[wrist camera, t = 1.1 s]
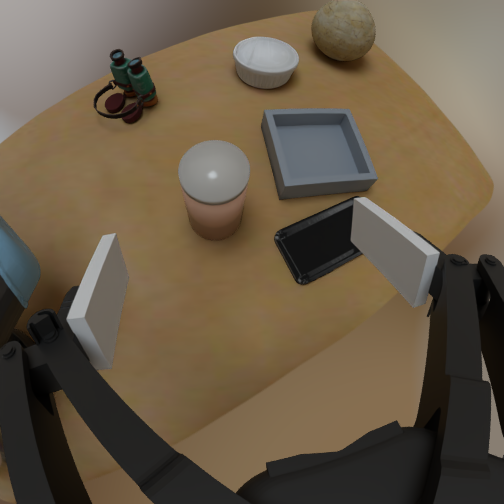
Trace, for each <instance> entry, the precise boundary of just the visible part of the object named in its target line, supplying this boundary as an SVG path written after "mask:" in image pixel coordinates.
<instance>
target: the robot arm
mask: <svg viewBox="0 0 504 504" xmlns="http://www.w3.org/2000/svg"><path fill="white" fill-rule="evenodd" d="M351 242H352V243H353V244H354V245H355V246H356V247H357V248H358V249H359V250H360V251H361V252H362V253H363V254H364V255H365V256H366V257H367V258H368V259H369V260H370V261H371V262H372V263H373V264H374V266H375V267H376V268H377V269H378V270H379V271H380V272H381V273H382V274H383V275H384V276H385V277H386V278H387V279H388V280H389V282H390V283H391V284H392V285H393V286H394V287H395V288H396V289H397V290H398V291H399V292H400V294H401V295H402V296H403V297H404V298H405V299H406V300H407V301H408V302H409V304H410V305H411V306H412V307H413V308H414V307H417V306H420V305H423V304H425V303H426V300H427V296H428V293H429V294H430V295H432V297H433V300H432V303H431V306H430V309H429V312H428V314H427V317H429V315H430V329H429V340H428V350H427V358H426V367H425V373H424V380H423V387H422V393H421V398H420V404H419V409H418V414H417V418H416V422H415V425H414V427H400V425H399V423H398V421H394V422H392V423H390V424H387V425H385V426H382V427H380V428H378V429H375V430H373V431H370V432H368V433H367V434H365V435H364V436H362V437H361V438H359V439H358V440H356V441H355V442H353V443H352V444H350V445H349V446H347V447H346V448H344V449H343V450H340V451H338V452H327V453H314V454H300V455H296V456H292V457H288V458H284V459H280V460H276V461H271V462H267V463H266V468H267V470H266V471H264V472H262V473H260V474H258V475H256V476H254V477H253V478H251V479H250V480H249V481H247V482H246V483H245V484H244V485H243V486H242V487H241V488H240V489H239V490H238V491H237V492H236V493H234V492H233V491H231V490H230V489H229V488H227V487H226V486H224V485H223V484H221V483H220V482H219V481H217V480H216V479H214V478H213V477H212V476H211V475H209V474H208V473H206V472H205V471H204V470H202V469H201V468H200V467H199V466H198V465H196V464H195V463H194V462H192V461H191V460H190V459H188V458H187V457H186V456H184V455H183V454H180V453H178V452H176V451H175V450H174V449H173V448H172V447H171V446H169V445H168V444H167V443H166V442H165V441H164V440H163V439H162V438H161V437H159V436H158V435H157V434H156V433H155V432H154V431H153V430H152V429H151V428H150V427H149V426H148V425H147V424H146V423H145V422H144V421H143V420H142V419H141V418H140V417H139V416H138V415H137V414H136V413H135V412H134V411H133V410H132V409H131V408H130V407H129V406H128V405H127V404H126V403H125V402H124V401H123V400H122V399H121V398H120V397H119V396H118V395H117V393H116V392H115V391H114V390H113V389H112V388H111V387H110V386H109V385H108V383H107V382H106V381H105V380H104V379H103V378H102V377H101V375H100V374H99V373H98V372H97V371H96V370H101V369H112V363H113V357H114V350H115V344H116V339H117V333H118V328H119V322H120V317H121V312H122V307H123V303H124V298H125V293H126V289H127V284H128V280H129V275H128V272H127V269H126V266H125V262H124V259H123V256H122V252H121V249H120V246H119V242H118V239H117V235H116V233H114V234H109V235H103V236H102V238H101V240H100V242H99V244H98V247H97V249H96V251H95V253H94V255H93V257H92V259H91V261H90V264H89V266H88V268H87V270H86V272H85V275H84V277H83V279H82V282H81V284H80V286H74V287H72V288H71V289H70V290H69V291H68V292H67V294H66V296H65V298H64V300H63V303H62V305H61V307H60V308H61V309H59V312H58V314H57V315H56V313H55V311H53V310H52V309H44V310H41V311H39V312H36V313H35V314H34V315H33V316H32V317H31V318H30V319H29V320H28V323H27V330H28V331H29V333H30V335H31V336H32V338H33V340H34V341H35V343H36V345H35V343H34V342H33V341H32V340H31V339H30V338H29V337H28V336H27V335H25V334H24V333H23V332H21V331H19V330H17V329H14V328H15V326H16V324H17V322H18V320H19V318H20V316H21V314H22V312H23V311H24V309H26V308H27V307H28V300H29V299H30V297H31V295H32V293H33V291H34V289H35V287H36V285H37V283H38V281H39V278H40V265H39V263H38V260H37V259H36V257H35V256H34V254H33V253H32V252H31V250H30V249H29V248H28V247H27V245H26V244H25V243H24V242H23V241H22V240H21V239H20V237H19V236H18V235H17V234H16V233H15V232H14V230H13V229H12V228H11V227H10V226H9V225H8V224H7V223H6V221H5V220H4V219H3V218H2V217H1V216H0V427H1V433H2V439H3V446H4V452H5V457H6V462H7V467H8V472H9V476H10V480H11V484H12V488H13V492H14V496H15V499H16V502H17V504H92V502H91V500H90V498H89V496H88V493H87V491H86V489H85V487H84V485H83V482H82V480H81V477H80V475H79V472H78V470H77V467H76V465H75V462H74V460H73V457H72V454H71V451H70V449H69V446H68V443H67V440H66V437H65V434H64V431H63V428H62V424H61V421H60V418H59V414H58V410H57V407H56V403H55V399H54V395H53V392H56V391H59V390H62V389H63V391H64V392H65V394H66V395H67V397H68V398H69V400H70V401H71V403H72V404H73V406H74V407H75V409H76V410H77V412H78V413H79V415H80V416H81V417H82V419H83V420H84V422H85V423H86V424H87V426H88V427H89V428H90V430H91V431H92V432H93V434H94V435H95V436H96V437H97V439H98V440H99V441H100V442H101V444H102V445H103V446H104V447H105V449H106V450H107V451H108V452H109V453H110V455H111V456H112V457H113V458H114V459H115V461H116V462H117V463H118V464H119V465H120V466H121V467H122V468H123V470H124V471H125V472H126V473H127V474H128V475H129V476H130V477H131V478H132V479H133V480H134V481H135V482H136V484H137V485H138V486H139V487H140V489H141V491H142V492H143V493H144V494H145V495H146V496H147V497H148V498H149V499H150V500H151V501H152V502H153V503H154V504H504V455H503V458H500V457H497V456H494V455H492V454H489V453H488V450H489V439H490V421H491V386H492V390H493V394H494V398H495V403H496V407H497V412H498V417H499V422H500V426H501V430H502V434H503V437H504V267H503V265H502V263H501V262H500V261H499V260H498V259H496V258H495V257H494V256H492V255H487V254H484V255H481V256H480V258H479V261H478V264H469V262H468V261H467V260H466V259H465V258H464V257H462V256H459V255H456V254H449V255H446V254H445V253H444V252H442V251H441V250H440V249H439V248H437V247H436V246H435V245H433V244H432V243H431V242H430V241H428V240H427V239H426V238H424V237H423V236H422V235H421V234H418V233H416V232H414V231H412V230H410V229H409V228H408V227H406V226H405V225H404V224H402V223H401V222H400V221H398V220H397V219H395V218H394V217H393V216H391V215H390V214H389V213H387V212H386V211H384V210H383V209H382V208H380V207H379V206H377V205H376V204H374V203H373V202H372V201H370V200H369V199H367V198H366V197H361V198H354V205H353V219H352V231H351ZM489 299H490V301H489ZM481 351H482V354H483V358H484V361H485V364H486V368H487V371H488V375H489V378H490V382H491V386H490V383H489V382H488V381H483V380H482V357H481ZM89 361H90V362H91V363H90V362H89ZM91 364H92V365H91Z"/></svg>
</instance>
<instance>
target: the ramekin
mask: <svg viewBox="0 0 504 504" xmlns="http://www.w3.org/2000/svg"><path fill="white" fill-rule="evenodd" d="M233 57H234V60H235V64H236V70H237V74H238V75H239V77H240V78H241V79H242V80H243V81H244V82H245V83H247V84H248V85H251V86H253V87H257V88H262V89H271V88H276V87H279V86H281V85H283V84H285V83H286V82H287V81H288V80H289V78H290V76H291V75H292V73H293V71H294V70H295V69H296V67H297V65H298V62H299V56H298V54H297V52H296V50H295V49H294V48H292V47H291V46H290V45H288V44H287V43H285V42H283V41H280V40H277V39H274V38H268V37H253V38H248V39H245V40H243V41H241V42H239V43H238V44H237V45H236V46H235V48H234V51H233Z"/></svg>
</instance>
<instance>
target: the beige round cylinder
mask: <svg viewBox="0 0 504 504" xmlns="http://www.w3.org/2000/svg"><path fill="white" fill-rule="evenodd" d="M178 174H179V179H180V184H181V188H182V192H183V196H184V200H185V205H186V209H187V213H188V217H189V221H190V224H191V226H192V228H193V230H194V231H195V232H196V233H197V234H198V235H199V236H201V237H203V238H205V239H208V240H222V239H225V238H227V237H229V236H231V235H232V234H233V233H234V232H235V231H236V230H237V229H238V227H239V225H240V223H241V218H242V213H243V207H244V202H245V196H246V191H247V186H248V180H249V175H250V165H249V161H248V159H247V157H246V155H245V154H244V153H243V152H242V151H241V150H240V149H239V148H238V147H236V146H235V145H233V144H231V143H228V142H225V141H219V140H211V141H205V142H202V143H199V144H197V145H195V146H193V147H192V148H190V149H189V150H188V151H187V152H186V153H185V154H184V156H183V157H182V159H181V161H180V164H179V170H178Z"/></svg>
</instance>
